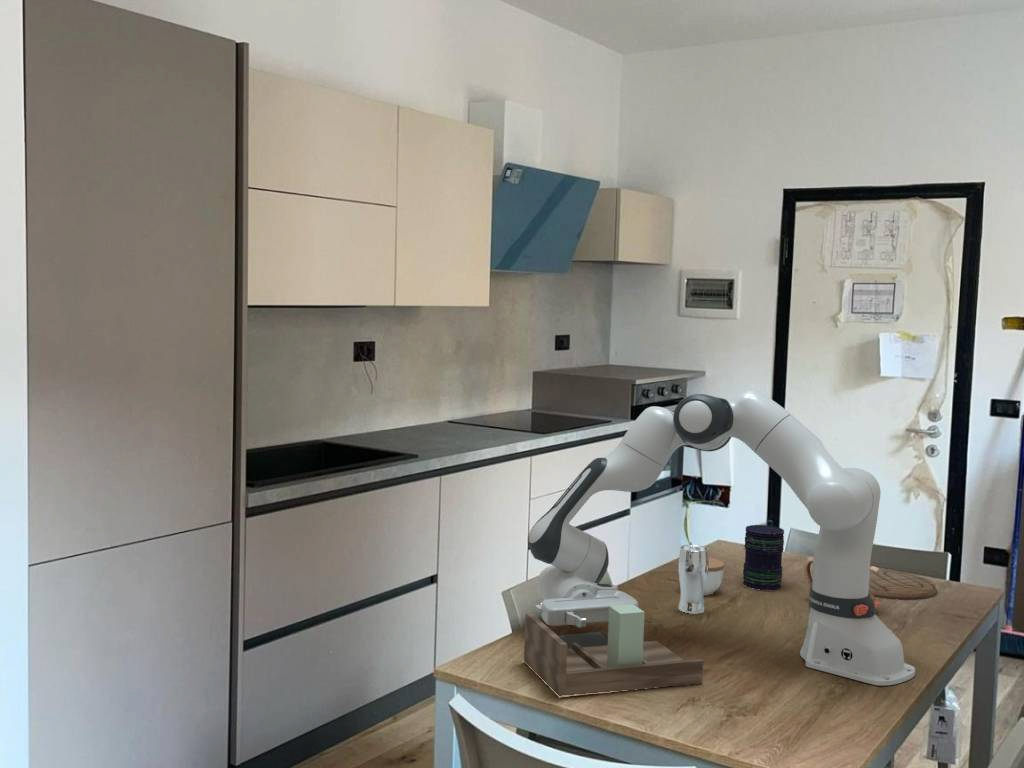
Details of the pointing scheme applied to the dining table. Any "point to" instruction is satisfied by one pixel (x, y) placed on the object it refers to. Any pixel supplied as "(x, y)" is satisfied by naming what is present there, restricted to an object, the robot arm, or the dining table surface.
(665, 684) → the lane shelf
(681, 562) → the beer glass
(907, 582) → the trivet
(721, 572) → the lidded jar
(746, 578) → the storage jar
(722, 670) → the dining table surface
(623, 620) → the block
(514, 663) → the dining table surface
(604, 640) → the mat
